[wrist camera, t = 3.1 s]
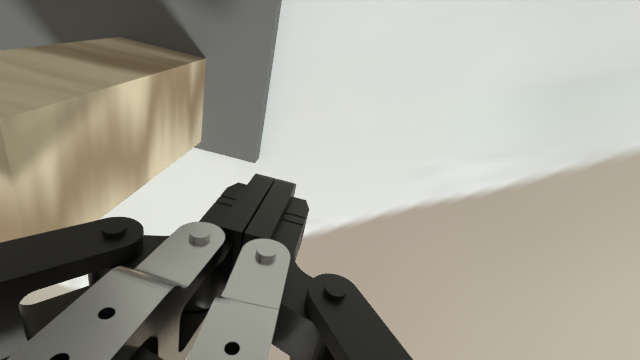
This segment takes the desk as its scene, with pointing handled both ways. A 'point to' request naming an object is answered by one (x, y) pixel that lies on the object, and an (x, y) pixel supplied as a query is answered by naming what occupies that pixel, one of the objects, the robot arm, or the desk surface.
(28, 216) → the birch block
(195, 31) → the rubber mat
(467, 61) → the desk surface
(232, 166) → the desk surface
